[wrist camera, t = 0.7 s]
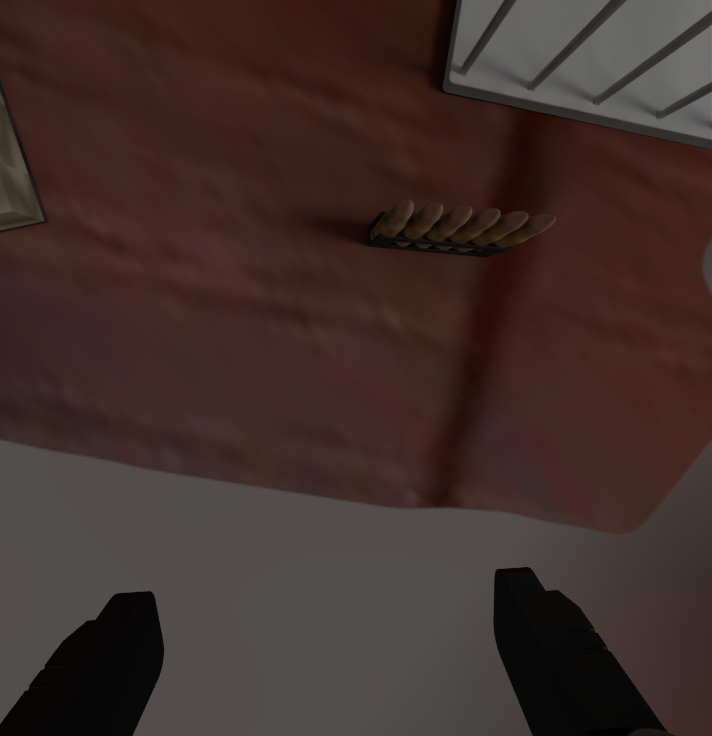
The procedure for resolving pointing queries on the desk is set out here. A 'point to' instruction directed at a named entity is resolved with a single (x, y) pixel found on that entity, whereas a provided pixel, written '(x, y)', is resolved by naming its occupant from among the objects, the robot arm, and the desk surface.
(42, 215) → the socket block
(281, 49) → the desk surface
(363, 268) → the desk surface
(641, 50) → the file sorter
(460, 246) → the ammunition clip
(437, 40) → the desk surface
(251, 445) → the desk surface
